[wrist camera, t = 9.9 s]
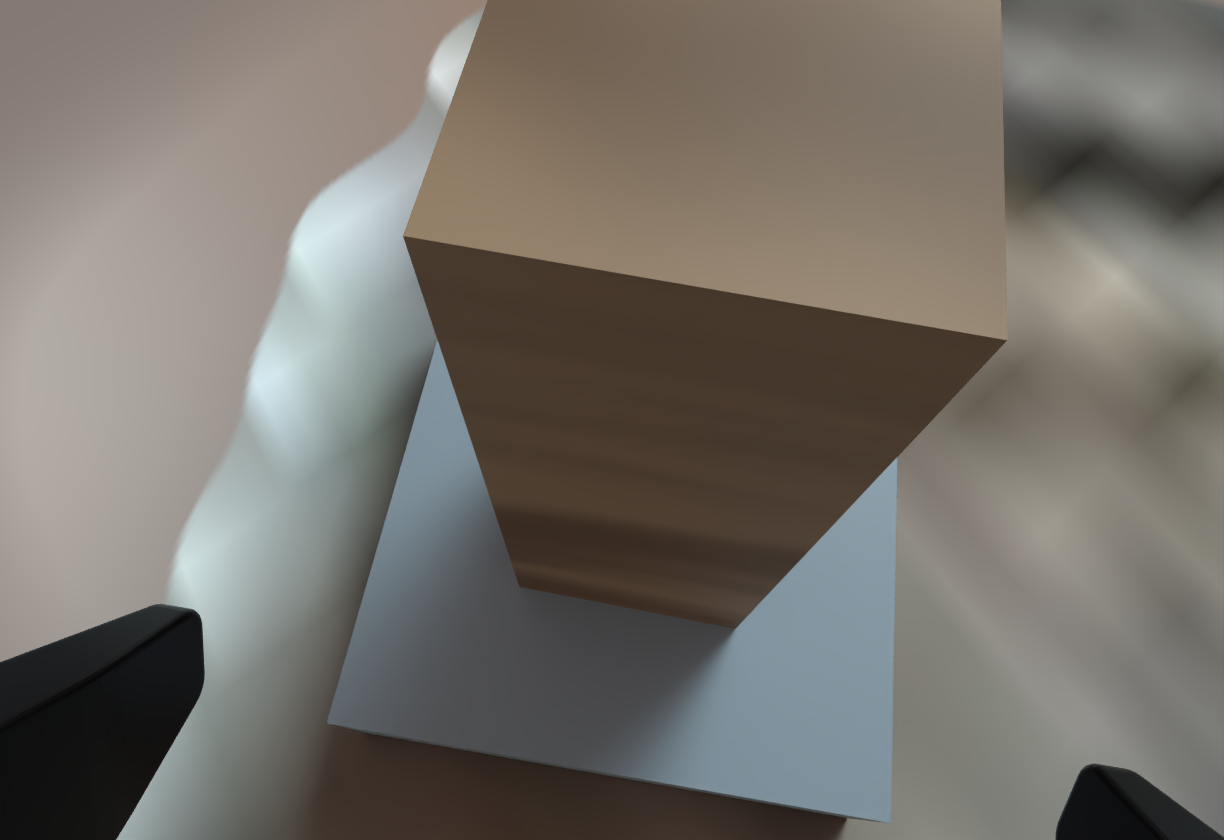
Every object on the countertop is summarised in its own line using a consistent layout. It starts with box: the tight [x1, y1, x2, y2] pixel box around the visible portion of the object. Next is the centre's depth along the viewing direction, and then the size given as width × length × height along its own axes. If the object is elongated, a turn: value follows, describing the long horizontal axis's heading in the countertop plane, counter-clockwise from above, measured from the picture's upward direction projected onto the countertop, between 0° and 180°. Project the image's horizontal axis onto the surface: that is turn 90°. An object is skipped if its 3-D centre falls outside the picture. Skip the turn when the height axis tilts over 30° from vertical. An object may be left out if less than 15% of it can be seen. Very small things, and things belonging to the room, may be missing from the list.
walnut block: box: [403, 0, 1007, 629], centre depth 14 cm, size 5×5×13 cm
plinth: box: [327, 340, 897, 823], centre depth 21 cm, size 12×12×3 cm
